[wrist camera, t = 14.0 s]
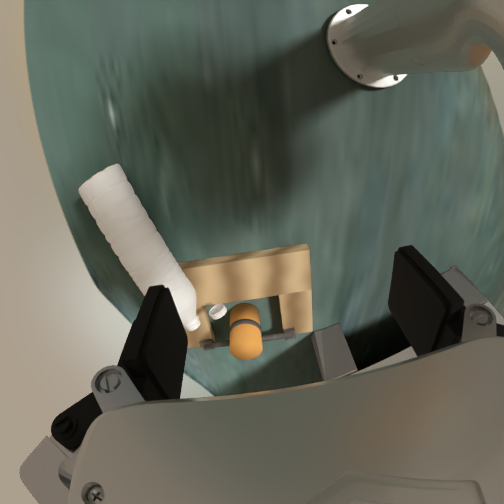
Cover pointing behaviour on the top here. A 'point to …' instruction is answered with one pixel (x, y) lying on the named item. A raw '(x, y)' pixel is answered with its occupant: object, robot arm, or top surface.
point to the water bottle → (139, 241)
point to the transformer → (342, 364)
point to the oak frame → (253, 288)
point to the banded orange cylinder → (245, 331)
